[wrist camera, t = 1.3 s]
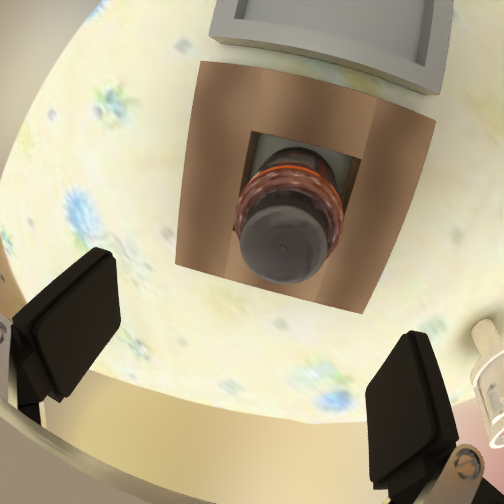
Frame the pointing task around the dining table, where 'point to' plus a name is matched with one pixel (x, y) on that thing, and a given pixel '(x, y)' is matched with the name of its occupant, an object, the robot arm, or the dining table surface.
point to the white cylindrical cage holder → (489, 379)
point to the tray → (348, 34)
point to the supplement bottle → (289, 217)
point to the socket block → (311, 132)
